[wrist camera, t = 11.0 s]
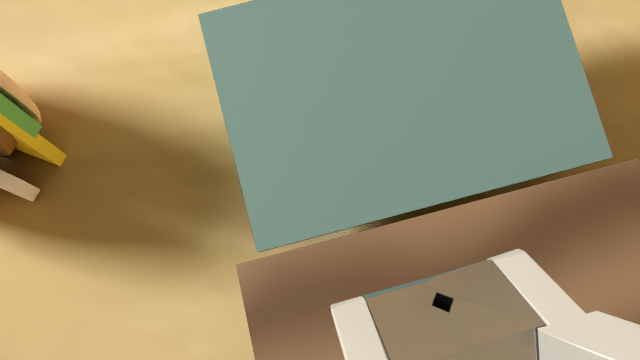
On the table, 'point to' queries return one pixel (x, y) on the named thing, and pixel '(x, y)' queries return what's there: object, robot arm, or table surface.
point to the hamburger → (22, 135)
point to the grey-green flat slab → (394, 105)
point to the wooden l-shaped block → (455, 257)
